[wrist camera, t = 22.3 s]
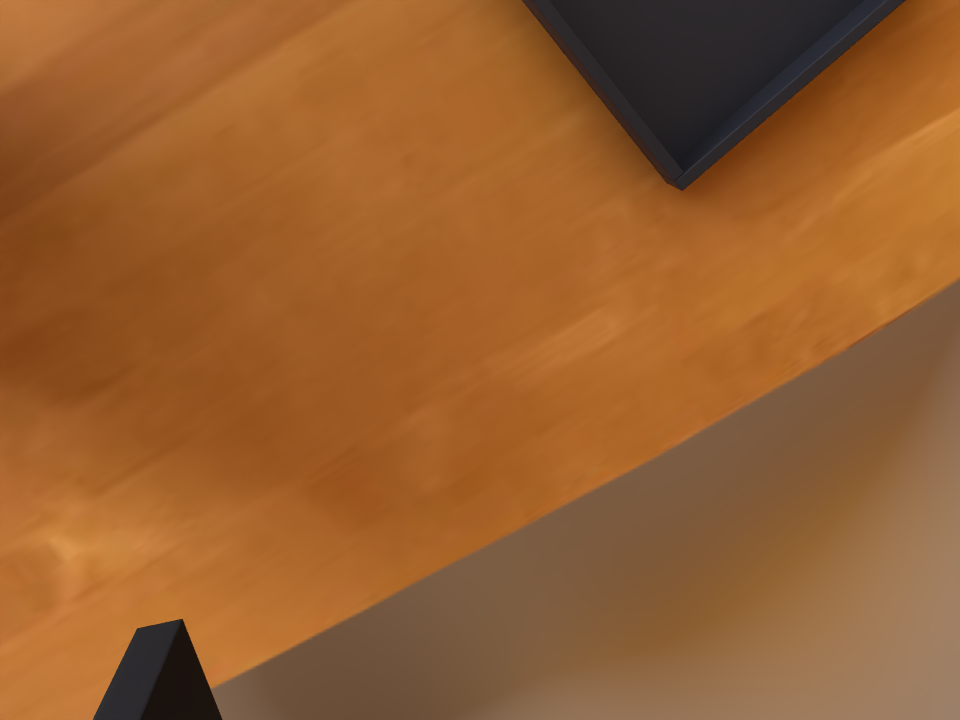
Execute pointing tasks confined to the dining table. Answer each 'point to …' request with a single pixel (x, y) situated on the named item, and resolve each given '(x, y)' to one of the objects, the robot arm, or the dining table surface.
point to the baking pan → (701, 64)
